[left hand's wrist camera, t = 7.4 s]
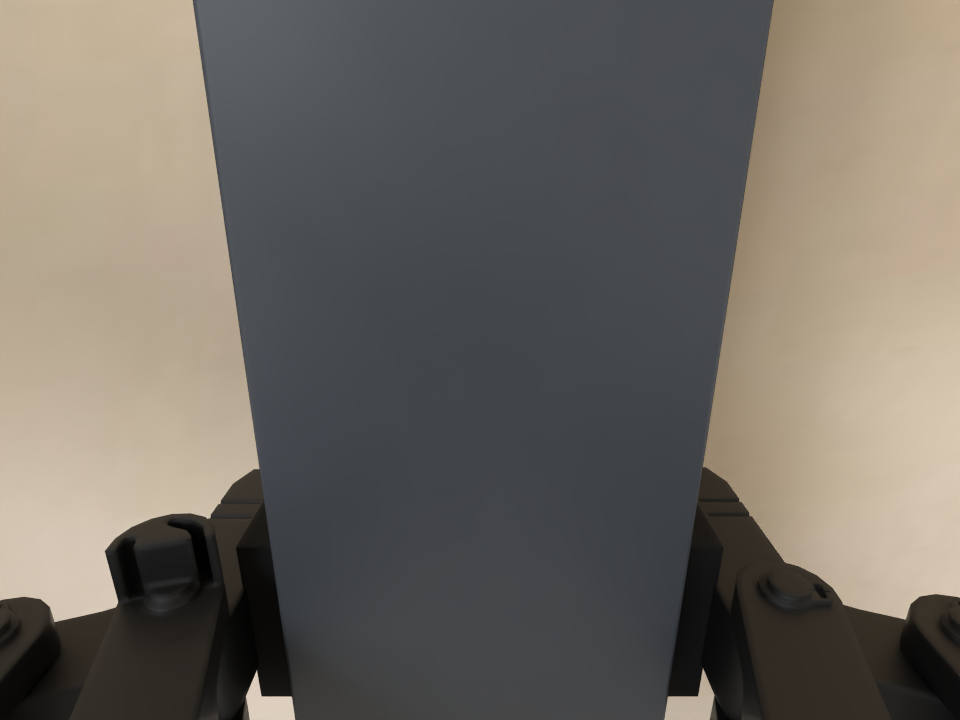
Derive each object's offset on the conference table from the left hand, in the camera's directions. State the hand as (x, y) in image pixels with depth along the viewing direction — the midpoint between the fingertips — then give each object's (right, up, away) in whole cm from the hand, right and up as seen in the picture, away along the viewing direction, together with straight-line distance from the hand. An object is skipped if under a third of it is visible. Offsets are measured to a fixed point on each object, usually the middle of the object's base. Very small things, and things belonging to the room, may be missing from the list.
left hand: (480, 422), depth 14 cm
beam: (0, +34, -12) cm, 36 cm away
